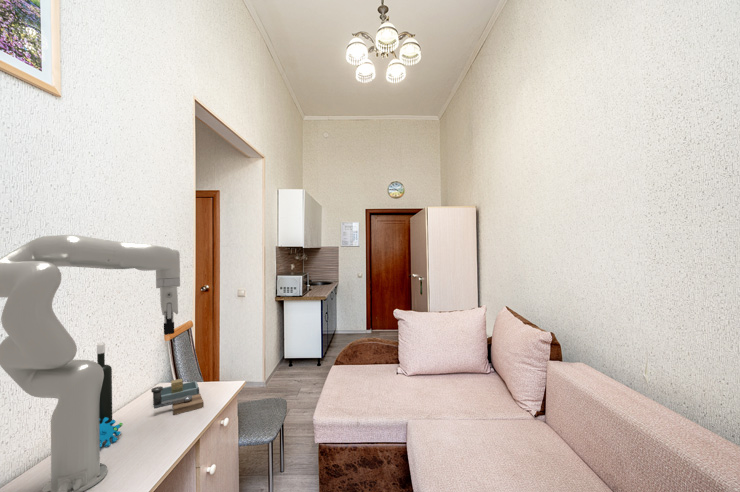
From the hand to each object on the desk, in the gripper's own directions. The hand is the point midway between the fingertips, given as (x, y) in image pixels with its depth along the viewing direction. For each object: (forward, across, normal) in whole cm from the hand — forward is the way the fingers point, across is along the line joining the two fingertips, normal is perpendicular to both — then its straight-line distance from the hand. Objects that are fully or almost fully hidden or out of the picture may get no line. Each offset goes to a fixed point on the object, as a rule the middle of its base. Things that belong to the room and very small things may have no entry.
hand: (169, 333), depth 118 cm
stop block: (+30, +22, -3) cm, 37 cm away
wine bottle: (+31, +6, +20) cm, 38 cm away
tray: (+31, +22, -3) cm, 38 cm away
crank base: (+31, +9, -6) cm, 33 cm away
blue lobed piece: (+31, -4, +18) cm, 37 cm away
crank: (+29, +9, -1) cm, 30 cm away
